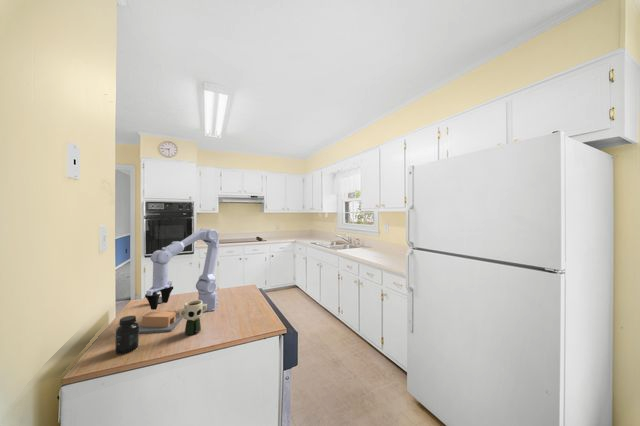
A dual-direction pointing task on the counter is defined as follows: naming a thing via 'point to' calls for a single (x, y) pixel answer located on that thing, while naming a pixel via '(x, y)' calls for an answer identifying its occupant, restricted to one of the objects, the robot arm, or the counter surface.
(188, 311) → the character mug
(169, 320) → the rectangular block
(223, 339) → the counter surface
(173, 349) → the counter surface
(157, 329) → the post board
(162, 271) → the robot arm
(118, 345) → the supplement bottle
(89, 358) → the counter surface
